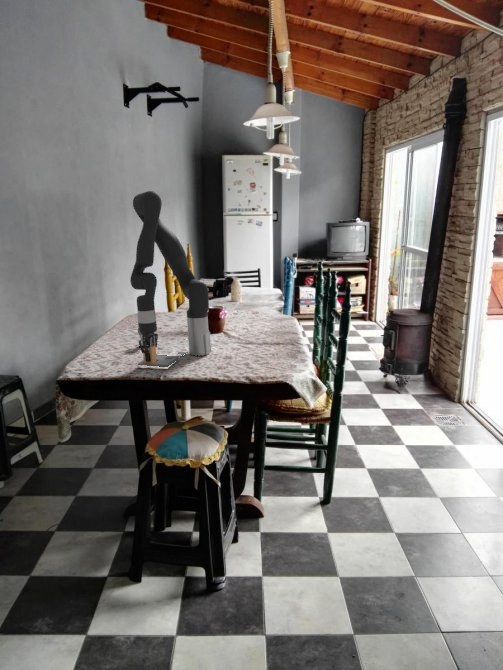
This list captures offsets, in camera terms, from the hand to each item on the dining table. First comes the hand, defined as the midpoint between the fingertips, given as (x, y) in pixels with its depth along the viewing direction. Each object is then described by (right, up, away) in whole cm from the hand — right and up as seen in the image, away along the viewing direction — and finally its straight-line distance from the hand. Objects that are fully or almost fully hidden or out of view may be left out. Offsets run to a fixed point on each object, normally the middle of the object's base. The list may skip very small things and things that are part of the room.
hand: (150, 359), depth 217 cm
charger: (0, -2, +1) cm, 2 cm away
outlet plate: (+3, -2, +2) cm, 4 cm away
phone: (+7, +1, +17) cm, 18 cm away
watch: (-8, +5, +31) cm, 33 cm away
